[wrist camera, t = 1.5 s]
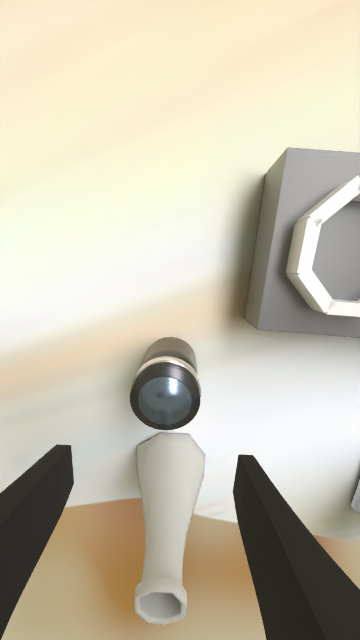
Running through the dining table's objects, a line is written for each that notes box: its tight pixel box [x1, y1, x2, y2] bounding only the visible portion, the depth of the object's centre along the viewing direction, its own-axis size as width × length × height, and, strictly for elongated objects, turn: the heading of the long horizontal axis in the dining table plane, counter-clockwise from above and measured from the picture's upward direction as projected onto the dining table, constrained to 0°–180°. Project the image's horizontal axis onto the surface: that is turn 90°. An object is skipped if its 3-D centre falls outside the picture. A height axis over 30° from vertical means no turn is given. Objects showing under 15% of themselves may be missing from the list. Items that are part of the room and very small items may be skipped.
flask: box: [134, 433, 205, 625], centre depth 17 cm, size 7×7×10 cm
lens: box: [130, 337, 201, 430], centre depth 17 cm, size 5×5×6 cm
